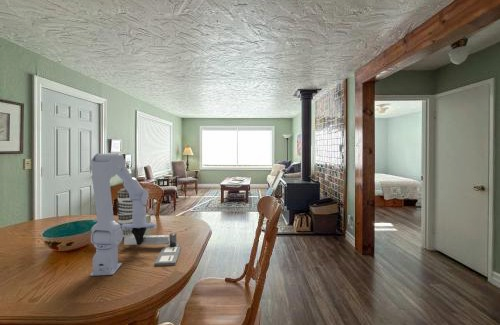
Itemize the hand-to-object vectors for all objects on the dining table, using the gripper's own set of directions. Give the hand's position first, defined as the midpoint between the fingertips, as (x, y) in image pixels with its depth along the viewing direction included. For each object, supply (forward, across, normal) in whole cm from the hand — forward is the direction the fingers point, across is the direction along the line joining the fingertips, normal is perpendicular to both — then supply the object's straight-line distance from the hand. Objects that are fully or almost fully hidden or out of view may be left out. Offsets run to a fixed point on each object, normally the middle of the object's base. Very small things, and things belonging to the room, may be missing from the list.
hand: (139, 244), depth 121 cm
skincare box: (+3, +2, -16) cm, 17 cm away
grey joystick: (+3, -15, -2) cm, 15 cm away
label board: (+3, -15, +10) cm, 18 cm away
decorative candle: (+3, +13, -24) cm, 28 cm away
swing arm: (+1, -3, -3) cm, 4 cm away
